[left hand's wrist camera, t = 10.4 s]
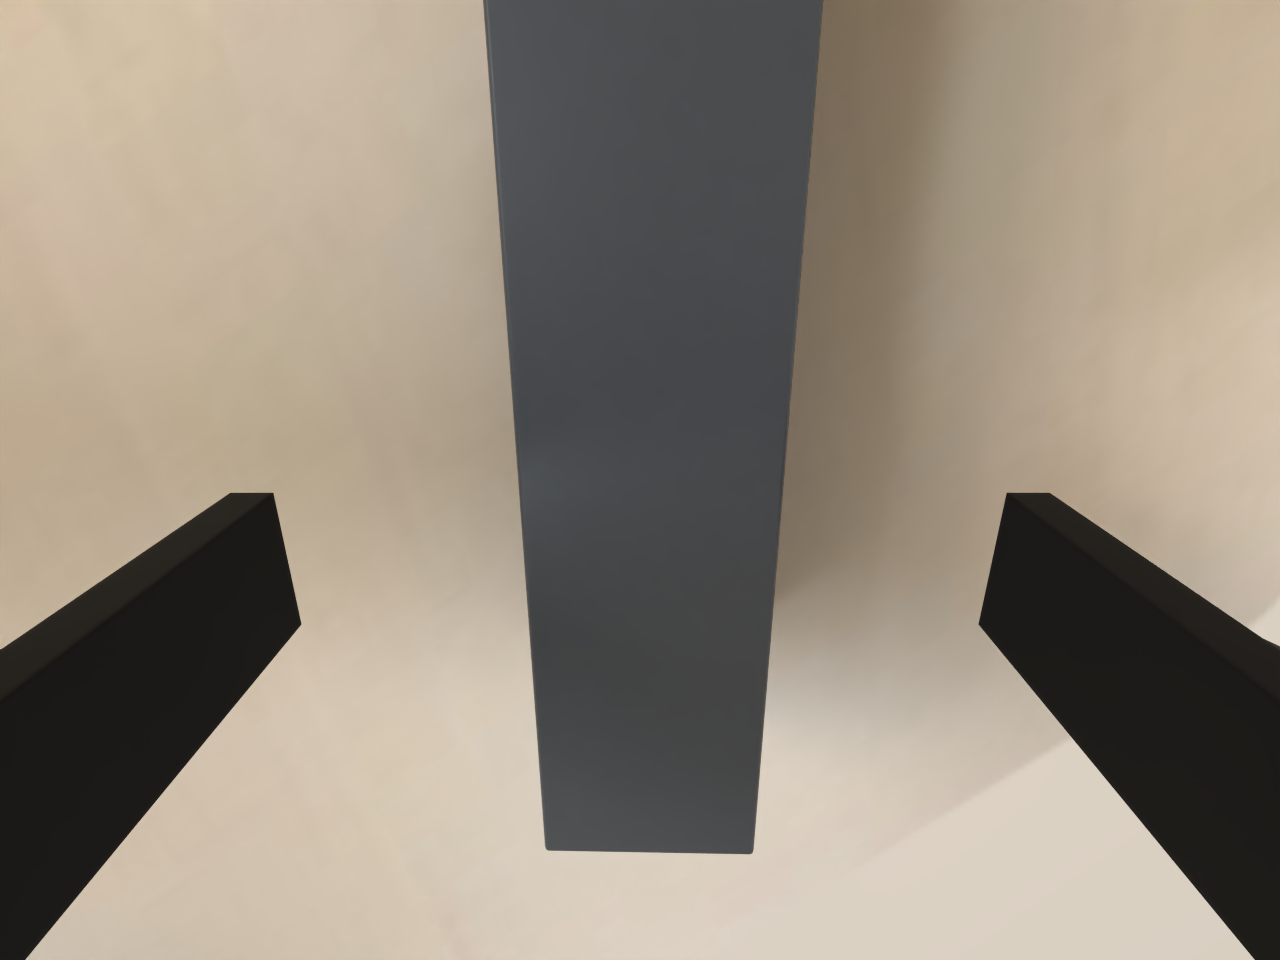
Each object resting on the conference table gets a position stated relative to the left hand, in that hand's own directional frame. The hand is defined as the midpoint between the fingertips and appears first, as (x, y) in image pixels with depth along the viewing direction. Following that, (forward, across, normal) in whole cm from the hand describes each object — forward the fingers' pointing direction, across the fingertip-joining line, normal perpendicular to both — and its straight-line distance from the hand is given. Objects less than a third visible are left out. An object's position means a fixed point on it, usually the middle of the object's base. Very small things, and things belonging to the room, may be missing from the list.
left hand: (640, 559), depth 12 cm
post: (+8, 0, -26) cm, 27 cm away
